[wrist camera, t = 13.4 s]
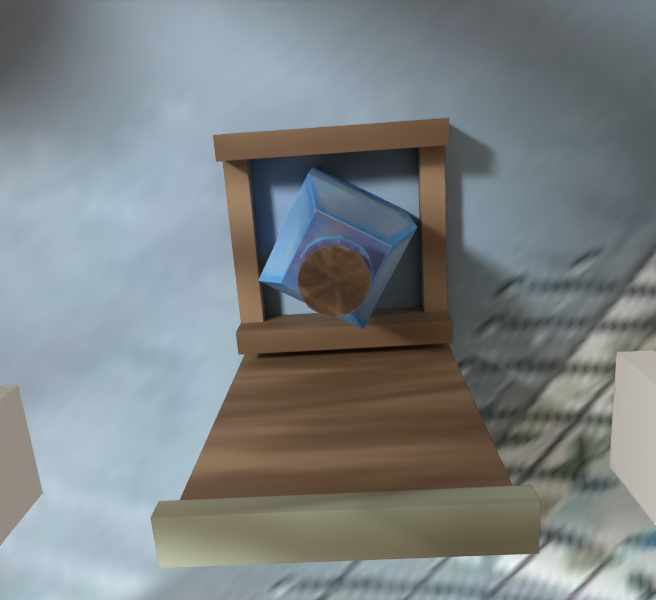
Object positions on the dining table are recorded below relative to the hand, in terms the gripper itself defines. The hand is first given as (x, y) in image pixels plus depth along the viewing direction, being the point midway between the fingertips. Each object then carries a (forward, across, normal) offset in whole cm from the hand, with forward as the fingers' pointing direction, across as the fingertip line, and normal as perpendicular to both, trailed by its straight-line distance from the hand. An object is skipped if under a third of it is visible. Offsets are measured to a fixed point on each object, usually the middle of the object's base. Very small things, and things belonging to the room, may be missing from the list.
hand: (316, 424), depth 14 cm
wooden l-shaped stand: (+25, 0, -1) cm, 25 cm away
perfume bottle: (+26, 0, 0) cm, 26 cm away
